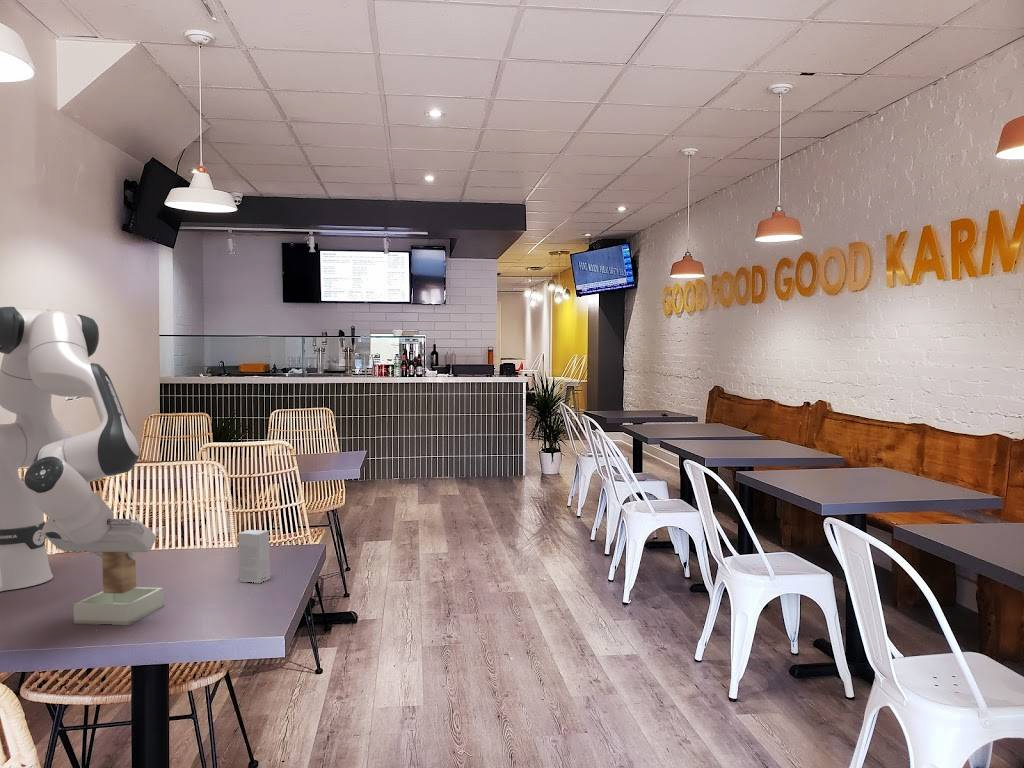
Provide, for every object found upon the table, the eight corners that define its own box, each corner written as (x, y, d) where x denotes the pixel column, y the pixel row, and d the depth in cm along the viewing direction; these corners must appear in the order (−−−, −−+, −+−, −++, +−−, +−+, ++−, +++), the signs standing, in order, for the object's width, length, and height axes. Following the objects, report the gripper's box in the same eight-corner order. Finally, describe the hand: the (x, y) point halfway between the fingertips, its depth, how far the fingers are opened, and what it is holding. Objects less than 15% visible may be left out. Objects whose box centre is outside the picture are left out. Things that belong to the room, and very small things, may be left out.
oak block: (103, 593, 154) (101, 545, 154) (117, 586, 158) (115, 540, 158) (122, 593, 153) (121, 545, 153) (136, 587, 158) (134, 540, 157)
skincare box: (270, 579, 181) (269, 530, 180) (259, 584, 177) (258, 534, 176) (249, 577, 182) (248, 529, 182) (238, 582, 178) (237, 532, 178)
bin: (73, 623, 151) (73, 604, 151) (112, 604, 163) (112, 586, 162) (128, 625, 149) (127, 605, 149) (163, 606, 161) (163, 587, 161)
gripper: (142, 507, 147) (172, 544, 157) (48, 506, 150) (84, 543, 160) (129, 534, 143) (160, 571, 153) (32, 533, 145) (70, 569, 155)
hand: (120, 556), depth 156 cm, fingers closed on oak block, 4 cm apart
